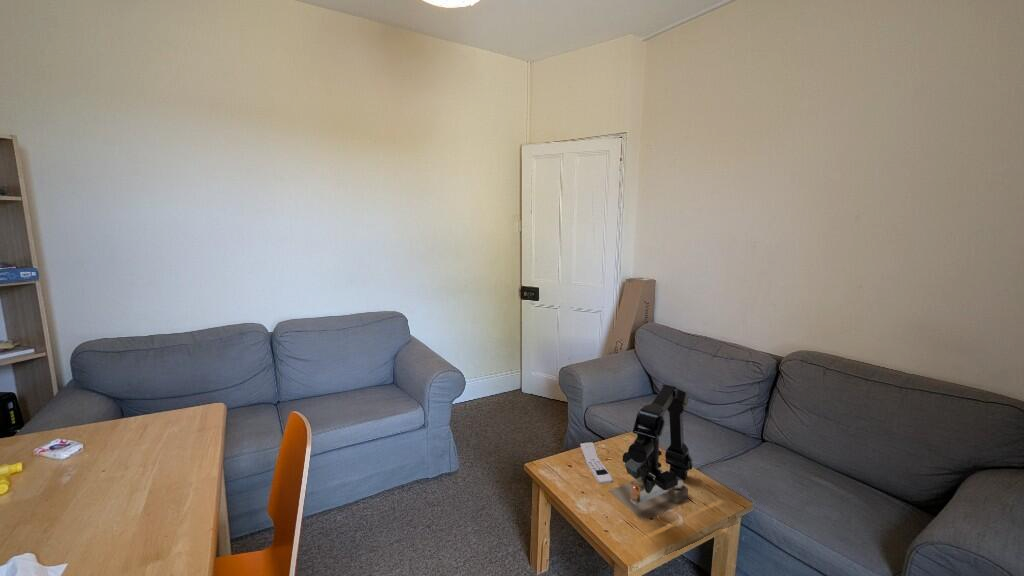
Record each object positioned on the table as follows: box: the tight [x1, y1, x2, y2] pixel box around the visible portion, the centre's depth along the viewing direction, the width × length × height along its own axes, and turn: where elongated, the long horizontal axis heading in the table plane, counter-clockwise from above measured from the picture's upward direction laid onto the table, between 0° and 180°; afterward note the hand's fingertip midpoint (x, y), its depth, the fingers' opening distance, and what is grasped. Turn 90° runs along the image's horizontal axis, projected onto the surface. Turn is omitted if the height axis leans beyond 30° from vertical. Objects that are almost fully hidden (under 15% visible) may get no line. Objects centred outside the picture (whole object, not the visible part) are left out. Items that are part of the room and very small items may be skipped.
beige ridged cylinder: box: [632, 476, 644, 488], centre depth 156 cm, size 4×4×6 cm
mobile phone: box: [580, 442, 613, 484], centre depth 168 cm, size 6×6×25 cm
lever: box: [631, 476, 684, 505], centre depth 144 cm, size 23×5×6 cm, turn 117°
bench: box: [607, 480, 690, 522], centre depth 150 cm, size 22×18×6 cm
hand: (648, 492), depth 134 cm, fingers closed
